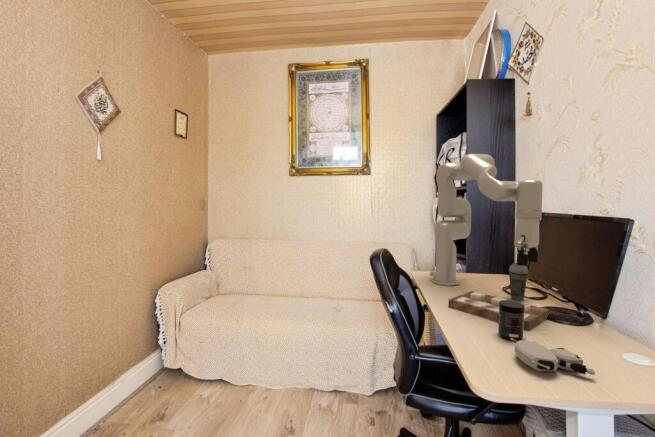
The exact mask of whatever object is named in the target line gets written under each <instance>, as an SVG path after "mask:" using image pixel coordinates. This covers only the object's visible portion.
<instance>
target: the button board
mask: <svg viewBox="0 0 655 437" xmlns="http://www.w3.org/2000/svg"><path fill="white" fill-rule="evenodd" d="M474 292H475V291H474V290H473V291H472V290H470V291H468V292H465V293H463V294H460V295H457V296H455V297H452V298H449V299H448V308H450V309H453V310H456V311H461V312H464V313H467V314H470V315H474V316H477V317H481V318H484V319H488V320H491V321H493V322H496V323H499V305H495V304H492V303H491V299H492V298H494V297H496V296H494V295H489V294H486V293H484V294H485V299H484V300H482V301H480V300H476V299H472V298H470V294H471V293H474ZM476 292H477V293H479V292H478V291H476ZM497 297H498V296H497ZM498 298H500V297H498ZM501 298H502V297H501ZM502 299H504V298H502ZM508 300H509V301H512V299H511V300H510V299H508ZM518 302H519V303H521V301H518ZM522 303H523V302H522ZM523 304H525V303H523ZM526 304H527V305H529V304H528V303H526ZM530 305H531V304H530ZM548 315H550V309H548V308H545V307H540V306H535V305H531V311H530V312H528V313H526V312H524V331H528V332H530V331H532V330H533V329H535V328H536V327H537V326H539V325H541V324H542V323H543V322H545V321H546V320H547V317H548Z"/></svg>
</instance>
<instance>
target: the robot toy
mask: <svg viewBox="0 0 655 437" xmlns="http://www.w3.org/2000/svg"><path fill="white" fill-rule="evenodd" d="M511 340H513V341H512V342H515V344H514V353H515V355H516V357H517V358H518V359H519V360H521V361H522V362H523V363H524V364H525V365H527V366H529V367H530V368H532V369H533V370H535V371H537V372H554V371H555V372H556V371H557V369H563V370H565V371H567V372H573V371H574V372H576V373H579V374H582V375H586V373H587V374H589V375H593V376H594V375H595V373H596V372H595V370H594V369H593V368H588V367H587V365H585V364H584V360H583V358H582V357H580V356H579V355H578V354H576V353H573V352H572V351H570V350H568V349H567V348H566V349H565V348H564V347H557V348H552V349H548V348H547V347H546V346H544V345H542V344H540V343H537V342H535V341H526V340H520V341H517V340H514V339H512V338H511Z"/></svg>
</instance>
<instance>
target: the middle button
mask: <svg viewBox="0 0 655 437" xmlns="http://www.w3.org/2000/svg"><path fill="white" fill-rule="evenodd" d="M502 300H508V299H507V298H503V299H502V297H499V298H498V296H495V297H494V298H492V299H491V303H492V304H495V305H499V301H502Z"/></svg>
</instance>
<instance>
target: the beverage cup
mask: <svg viewBox="0 0 655 437" xmlns="http://www.w3.org/2000/svg"><path fill="white" fill-rule="evenodd" d="M507 272H508V277H509V288H510V289H509V292H510V299H511V301H516V302H524V300H525V294H526V286H527V280H528V277H529V270H528V267H527V266H522V265H517V262H514V263H512V264H511V265H510V266H509V269H508V271H507Z"/></svg>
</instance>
